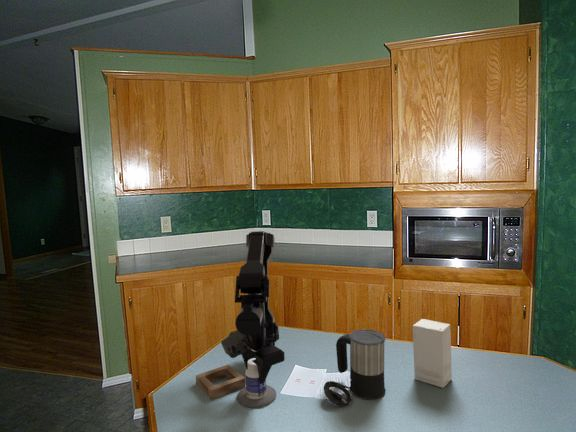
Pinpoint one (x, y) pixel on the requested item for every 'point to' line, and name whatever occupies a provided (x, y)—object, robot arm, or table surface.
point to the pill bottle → (254, 382)
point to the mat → (257, 403)
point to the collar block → (221, 389)
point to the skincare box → (432, 352)
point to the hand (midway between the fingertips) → (256, 378)
